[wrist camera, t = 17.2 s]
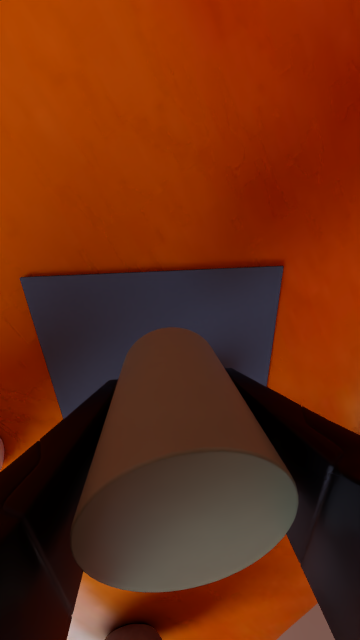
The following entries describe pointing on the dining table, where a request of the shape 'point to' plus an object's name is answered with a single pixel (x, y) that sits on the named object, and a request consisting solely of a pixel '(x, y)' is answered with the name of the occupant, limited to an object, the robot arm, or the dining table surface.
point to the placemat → (149, 320)
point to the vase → (134, 633)
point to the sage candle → (179, 475)
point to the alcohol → (1, 453)
